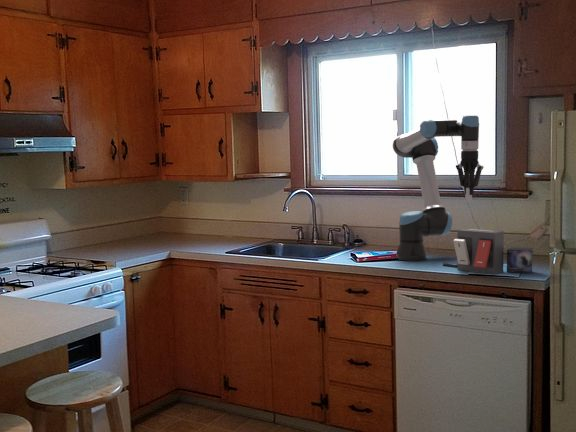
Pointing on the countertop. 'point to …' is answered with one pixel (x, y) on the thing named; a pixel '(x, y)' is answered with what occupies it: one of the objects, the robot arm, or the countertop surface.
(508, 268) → the small box
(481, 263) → the rocker red
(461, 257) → the rocker ivory
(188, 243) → the countertop surface
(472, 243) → the power unit
